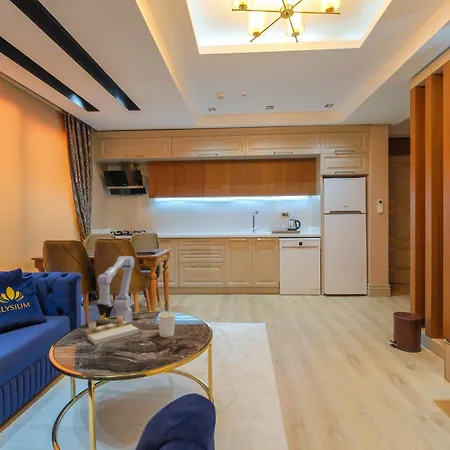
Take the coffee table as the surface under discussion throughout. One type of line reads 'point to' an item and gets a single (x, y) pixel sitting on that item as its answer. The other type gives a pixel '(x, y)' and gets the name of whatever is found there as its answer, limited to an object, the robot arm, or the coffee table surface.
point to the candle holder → (166, 324)
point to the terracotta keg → (119, 319)
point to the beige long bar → (104, 327)
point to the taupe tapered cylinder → (92, 325)
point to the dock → (112, 334)
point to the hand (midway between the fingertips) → (104, 316)
